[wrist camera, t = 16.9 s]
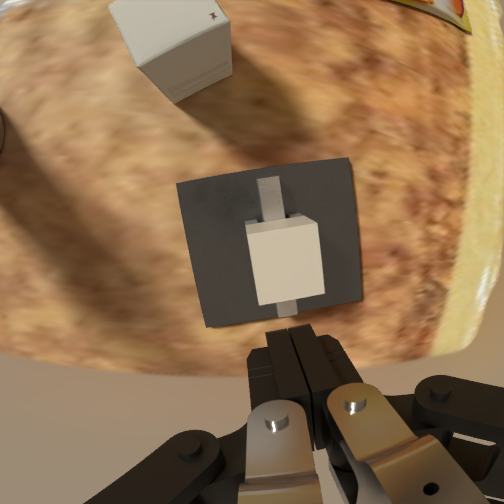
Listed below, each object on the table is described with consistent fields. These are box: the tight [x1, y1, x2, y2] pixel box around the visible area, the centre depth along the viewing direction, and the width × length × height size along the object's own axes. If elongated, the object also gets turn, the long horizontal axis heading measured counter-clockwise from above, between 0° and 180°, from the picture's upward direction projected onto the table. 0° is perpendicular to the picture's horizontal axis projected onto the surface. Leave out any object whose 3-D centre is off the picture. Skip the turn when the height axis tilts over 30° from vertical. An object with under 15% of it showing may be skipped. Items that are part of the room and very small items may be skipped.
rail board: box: [176, 158, 362, 328], centre depth 32 cm, size 16×18×4 cm
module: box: [245, 213, 325, 306], centre depth 29 cm, size 6×6×8 cm
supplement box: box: [108, 0, 233, 104], centre depth 23 cm, size 7×7×13 cm
